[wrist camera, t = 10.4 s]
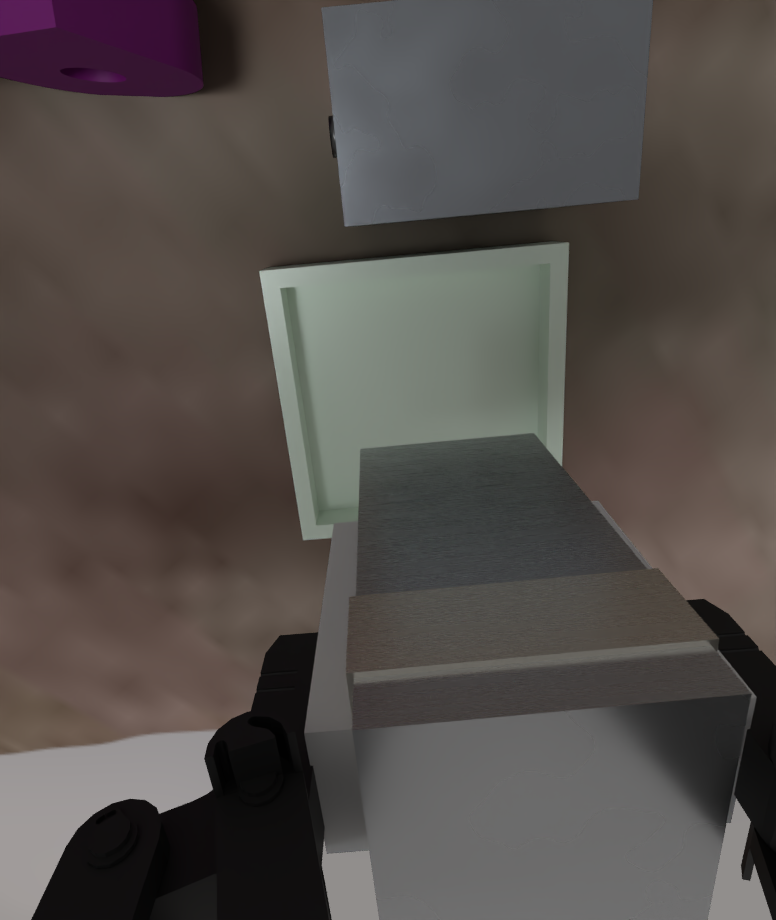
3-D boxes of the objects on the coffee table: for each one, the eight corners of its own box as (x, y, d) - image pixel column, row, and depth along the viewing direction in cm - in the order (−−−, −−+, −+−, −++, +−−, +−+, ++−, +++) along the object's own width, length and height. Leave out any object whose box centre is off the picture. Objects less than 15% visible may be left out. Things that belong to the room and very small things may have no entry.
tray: (308, 517, 33) (303, 540, 30) (268, 267, 27) (259, 270, 25) (546, 497, 32) (560, 518, 30) (552, 241, 27) (569, 242, 25)
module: (373, 597, 18) (380, 973, 9) (356, 446, 16) (342, 725, 7) (535, 582, 18) (708, 943, 9) (537, 429, 16) (761, 686, 7)
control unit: (349, 227, 27) (336, 227, 18) (335, 89, 25) (312, 8, 15) (552, 208, 27) (647, 198, 17) (555, 68, 25) (665, -26, 15)
